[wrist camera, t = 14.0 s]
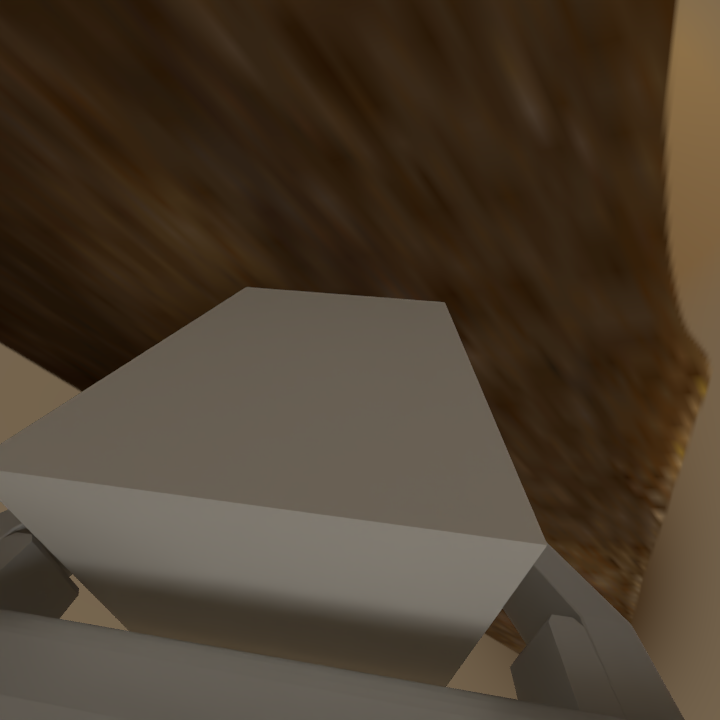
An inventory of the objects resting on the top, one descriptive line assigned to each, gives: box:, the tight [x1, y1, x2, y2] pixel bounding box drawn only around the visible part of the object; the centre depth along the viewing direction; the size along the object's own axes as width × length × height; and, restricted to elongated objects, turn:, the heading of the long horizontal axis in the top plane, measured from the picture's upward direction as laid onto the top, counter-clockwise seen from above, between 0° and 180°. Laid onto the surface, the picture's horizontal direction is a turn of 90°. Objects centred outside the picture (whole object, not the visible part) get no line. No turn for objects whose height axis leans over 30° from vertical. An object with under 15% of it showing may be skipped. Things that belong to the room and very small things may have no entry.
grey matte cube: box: [0, 287, 547, 687], centre depth 8 cm, size 7×7×8 cm
